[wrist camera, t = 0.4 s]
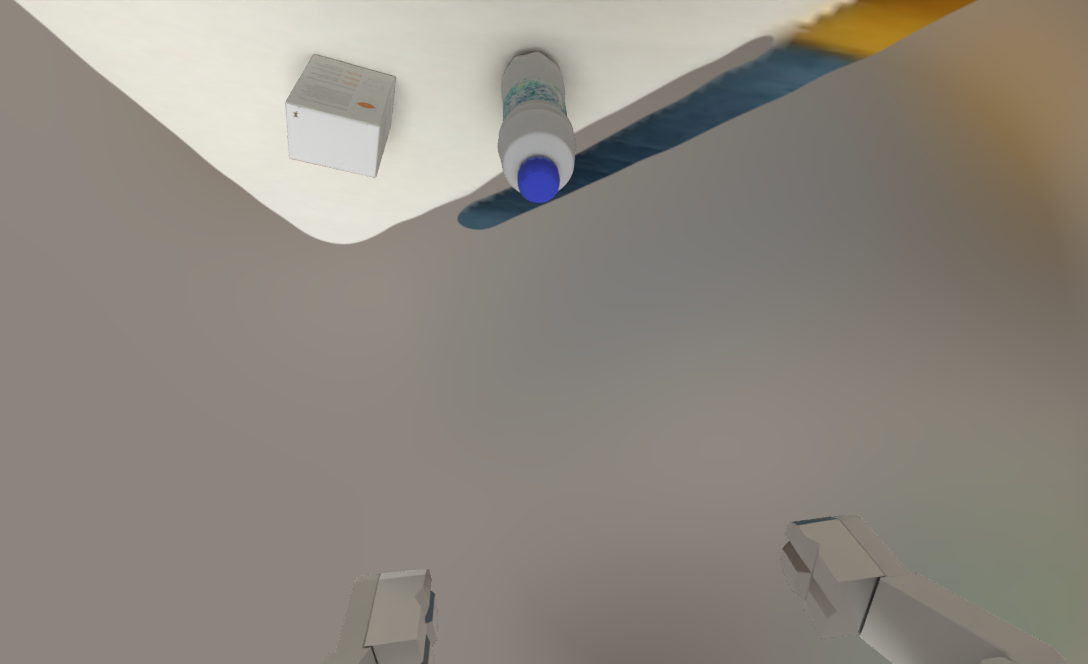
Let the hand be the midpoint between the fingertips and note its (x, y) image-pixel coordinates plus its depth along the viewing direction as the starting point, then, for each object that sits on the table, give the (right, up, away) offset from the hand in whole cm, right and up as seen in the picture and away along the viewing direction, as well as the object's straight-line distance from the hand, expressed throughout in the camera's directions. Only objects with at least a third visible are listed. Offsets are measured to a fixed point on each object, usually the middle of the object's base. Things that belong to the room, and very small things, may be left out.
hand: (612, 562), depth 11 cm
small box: (-21, +30, +41) cm, 56 cm away
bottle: (-3, +32, +41) cm, 52 cm away
